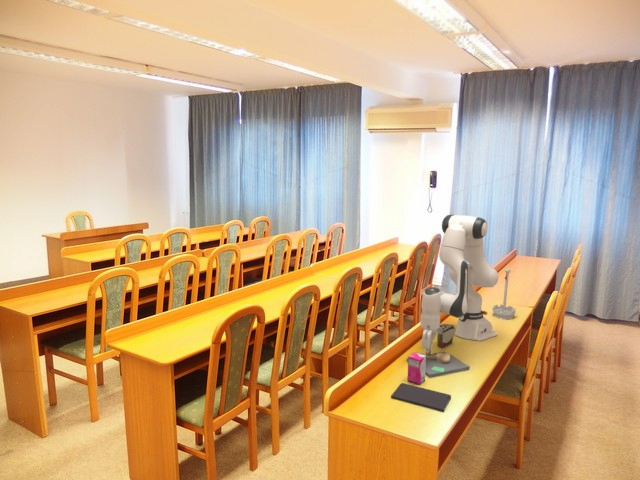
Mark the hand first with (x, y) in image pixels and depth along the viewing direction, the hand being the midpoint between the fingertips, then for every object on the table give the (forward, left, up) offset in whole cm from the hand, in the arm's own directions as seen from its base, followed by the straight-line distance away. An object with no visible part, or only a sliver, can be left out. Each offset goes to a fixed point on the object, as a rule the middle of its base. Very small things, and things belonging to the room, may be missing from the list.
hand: (428, 350), depth 226 cm
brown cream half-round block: (-19, -14, -6) cm, 24 cm away
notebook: (+23, +27, -6) cm, 36 cm away
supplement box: (+16, +14, -6) cm, 22 cm away
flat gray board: (-2, +5, -6) cm, 8 cm away
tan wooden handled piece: (-2, +2, -4) cm, 5 cm away
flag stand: (-81, -36, -6) cm, 89 cm away
